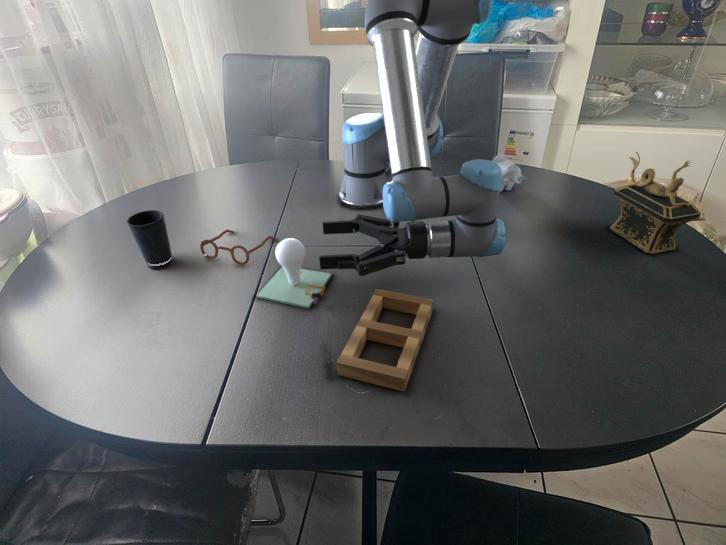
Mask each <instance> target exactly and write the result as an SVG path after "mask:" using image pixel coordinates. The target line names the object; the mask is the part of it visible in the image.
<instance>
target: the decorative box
mask: <svg viewBox="0 0 726 545" xmlns="http://www.w3.org/2000/svg"><path fill="white" fill-rule="evenodd" d="M635 153H636V155H637V157H638V159H637V158H635V157H633V156H628V158H629V159H630V161H631V162H632V165H633V167H632V170H631V171H630V178H631V182H632V183H633V184H628V185H624V186H620V187H616V188H614V191H613V195H614V197H615V198H616V200H617V201H618V203H619V204H620V209H621V212H620V214H619V216H618V218H617V219H616V220H615V221H614V223H613V224H611V225H610V228H609V229H610V230H611V231H612V232H614V233H616V234H617V235H618V236H620V237H622V238H623V239H624V240H626V241H628V242H629V243H631V244H632V245H634V246H635V247H636V248H638V249H640V250H642V251H643V252H645V253H646V254H652V255H653V254H654V255H655V254H658V253H663V252H668V251H674V250H676V248H677V245H676V240H675V236H676V233H677V231H678V230H679V229H680V228H681V227H682V226H684V225H685V224H688V223H690V222H693V221H696V220H698V219H699V218H700V216H701V214H702V212H701V210H700V209H699V208H697V207H696V206H695V205H694V204H693V203H692V202H691V201H690V200H688V199H686V198H683V197H681V196H680V195H678V191H679V189H680V187H681V186H682V185H683V183H684V182H685V181H684V180H685V179H684V177H677V174H678V173H680V171H681V170H683V169H685V168H687V167H690V166H691V160H688V159H687V160H686V161H685V162H684V163H683V165H682V166H680V167H678V168H677V169H675V170H674V171H673V172H672V175H671V180H670V182H669V184H668V185H667V186H666V185H664V184H661V183H659V182H656V181H654V180H655V177H656V171H655V169H654V168H652V167H651V168H647V169H645V170H644V171H643V172H642V174H641V182H637V181H636V180H635V173H636V169H637V168H638V166H639V165H640V162H641V157H640V154H639V152H637V151H635Z"/></svg>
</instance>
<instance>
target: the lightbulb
mask: <svg viewBox="0 0 726 545" xmlns="http://www.w3.org/2000/svg"><path fill="white" fill-rule="evenodd" d="M274 252H275V258H276V261H277V262H278V263H279V265H280V266H281V267H283V268H284V270H285V272H286V276H287V277H288V281H289V284H291V285H297V284H299V283H300V274H301V269H302V265H303V263H304V261H305V258H306V255H307V253H306V248H305V246H304V244H303V243H302V242H301V241H300V240H299V239H296V238H292V237H289V238H287V237H286V238H285V239H282V240H281V241H279V243H277V245H276V248H275V251H274Z"/></svg>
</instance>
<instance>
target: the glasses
mask: <svg viewBox="0 0 726 545" xmlns="http://www.w3.org/2000/svg"><path fill="white" fill-rule="evenodd" d="M226 233H229V234H235V231H234V230H231V229H225V230H223V231H221V233H219V234H218V235H216V236H215V237H212V238H210V239H204V240H202V241H201V242H200V246H199V247H200V252H201V253H202V255H203V254H207V253H206V252H205V250H204V247H205V246H206V245H208V244H210V245H212V246H213V247H214V255H213V256H210V255H208V254H207V256H204V258H206V259H207V260H208V259H209V260H214V259H216V258H218V254H219V250H222V251H228V252H230V256H231V260H232V261H233V262H234V263H235V264H237V265H239V266H246V265H247V264H248V263H249V261H250V255H251V254H252V253H254V252H255V251H257V250H259V249H261V248H262V247H264V246H265V244H266V243H267V241H269V240H272V241H273V242H276V239H277V238H276V237H274V236H272V235H268V236H267V237H265V238H264V240H262V242H261V243H259V244H257V245H256V246H255V247H252V248H251V249H249V250H248V249H247V248H246V247H245V246H243V245H238V244H237V245H234V246H232V247H231V248H230V247H227V246H223V245H219V246H218V245H217V243H216V242H214V241H217V240H220V238H222V237H223V236H224V235H225V234H226ZM236 249H241V250H242V251H243V252H244V253H245V260H244V261H243V262H241V261H239V260H237V258H236V257H235V252H234V251H235V250H236Z"/></svg>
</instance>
